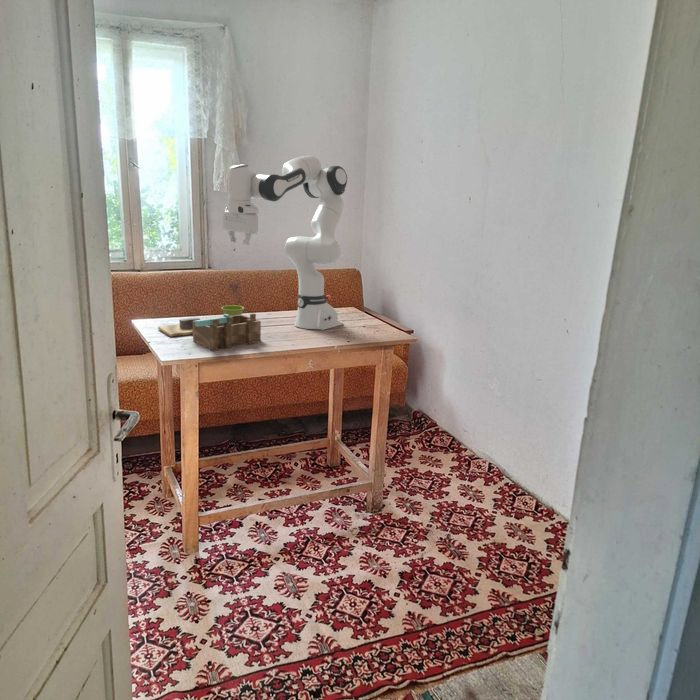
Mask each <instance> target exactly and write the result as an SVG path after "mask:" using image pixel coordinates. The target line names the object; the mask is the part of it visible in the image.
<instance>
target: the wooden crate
mask: <svg viewBox="0 0 700 700" xmlns="http://www.w3.org/2000/svg"><path fill="white" fill-rule="evenodd" d="M256 316H257V315H256V313H250V314H249V316H246V315H243V314H242V315H234V316H230V317H227V322H228V323H221V324H219V319H213V325H207V326H199V327H197V326H195V321H193V334H192V341H193V342H195V343H197V344H200V345H201V346H203V347H206V348H208V349H209V350H210V351H212V352H215V351H219V348H220V349H221V348H225V349H231V348H232V346H237V345H243V344H247V345H254V344H255V343H256V342H260V341H261V330H262V328H261V327H262V326H261V325H262V323H261V322H262V321H261V320H258V319H257V317H256ZM254 342H255V343H254Z"/></svg>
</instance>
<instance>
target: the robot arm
mask: <svg viewBox="0 0 700 700" xmlns="http://www.w3.org/2000/svg"><path fill="white" fill-rule="evenodd" d="M347 183H348V174H347V172H346V169H344V168H343V167H342V166H339V165H332V166H329V167H326V168H322V165H321V162H320V160H319V158H318V157H317V156H315V155H302V156H301V155H300V156H298V157H295V158H292V159H290V160H288V161H286V162H285V163H284V164H283V165H282V169H281V175H279V174H259V173H257V172H255V171H253V170H252V169H251V167H250V166H249V165H248V164H245V163H244V164H234V165H231V166H230V167H229V169H228V174H227V190H228V197H227V206H226V207H225V208H224V212H223V213H222V214H223V215H222V229H223V230H224V231H225V230H226V231H227V232H228V236H229V238H230V240H229V241H230V243H236V242H237V237H235V232H236V233H237V232H238V233H243V234H244V236H245V237H244V239H243V243H242V244H243V245H245V246H248V245H250V240H251V237H252V235H253V234H254V235H256V234H257V233H258V231H259V217H258V214H259V208H258V207H257V206H256V205H254V204H253V203H252V199H254V200H265V201H269V202H278V201H279V200H280V199H282V198H283V196H284V195H285V194H286V193H287V192H289V191H291V190H293V189H295V188H297V187H299V186H301V185H302V187H303V190H304V192H305V194H306V195H307V197H308V198H310V199H311V198H312V199H319V198H320V201H319V204H318V205H317V208H316V210H315V212H314V214H313V217H312V219H311V221H310V229H311V231H312V233H313V234H314V235H315V236H304V235H297V236H291V237H288V239H287V240H286V242H285V245H284V253H285V257H287V258H288V259H289V260H290V261H291V263H292V264H293V266H294V267H295V270H296V273H297V278H298V293H297V301H296V302H297V311H296V318H295V322H294V324H293V325H294V327H297V328H300V329H306V330H307V329H308V330H320V331H321V330H327V329H331V328H334V327H335V328H336V327H340V326H343V325H344V322H343V321H341V320H340V319H339V316H338V311H337V309H336V308H334V307H333V306H332V305H330V304H329V303H328V302H327V300H328V301H330V300H331V299H332V296H331V295H330V294H326V295H325V293H324V292H325V291H324V290H325V278H324V275H323V274H322V273H321V272H319V271H318V270H317V269H316V267H315V264H320V265H329V264H336V263H337V262H338V260H339V259H340V258H341V252H342V250H341V249H342V248H341V246H340V244H339V242H338V240H336V239H335V232H336V229H337V226H338V223H339V222H340V219H341V217H342V213H343V209H344V200H343V198H342V197H341V195H343V194H344V193H345V191H346V187H347Z"/></svg>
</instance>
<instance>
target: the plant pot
mask: <svg viewBox="0 0 700 700" xmlns="http://www.w3.org/2000/svg"><path fill="white" fill-rule="evenodd" d="M244 309H245V307H244V306H242V305H232V304H231V305H224V306H221V310H222V313H223V315H224V314H228V315H230V316H234V315H243V311H244Z"/></svg>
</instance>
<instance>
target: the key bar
mask: <svg viewBox="0 0 700 700" xmlns="http://www.w3.org/2000/svg"><path fill="white" fill-rule="evenodd" d="M227 317H230V315H228V314H224V313H223V316H218V317H210V318H203V319H202V318H201V319H200V320H195V326H197V327H199V326H207V325H213V319H219V324H221V323H228V322H227Z"/></svg>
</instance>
